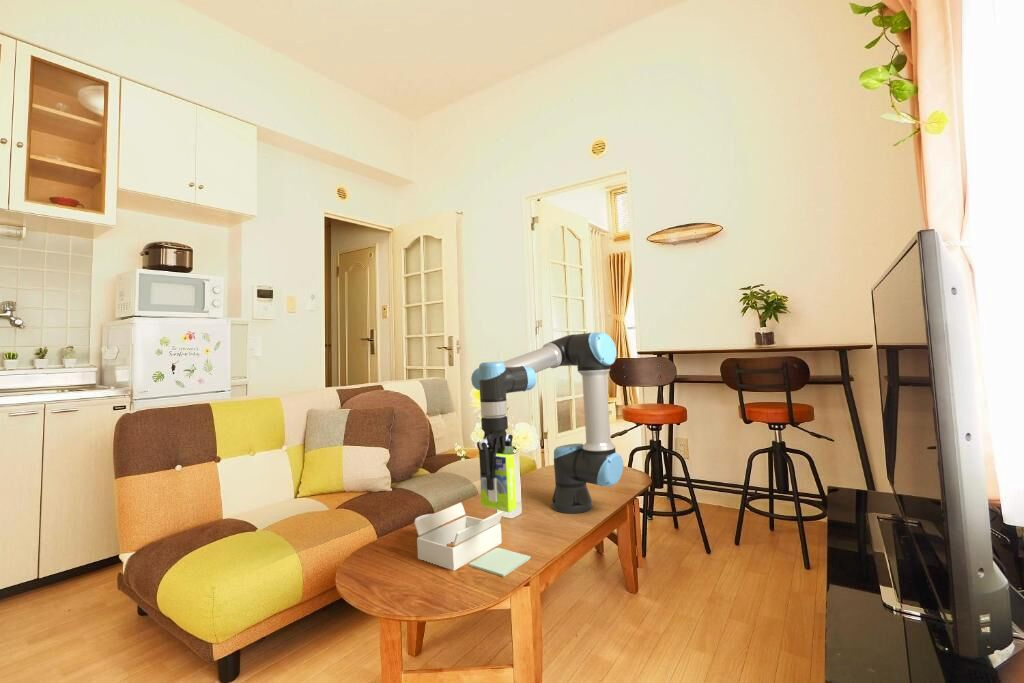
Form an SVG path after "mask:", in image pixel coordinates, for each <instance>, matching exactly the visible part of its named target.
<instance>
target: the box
mask: <svg viewBox="0 0 1024 683" xmlns="http://www.w3.org/2000/svg"><path fill="white" fill-rule="evenodd" d="M495 460H496V462H495V476H494V478H497V495H498V501H497V502H493V501H489V497H488V489H487V479H486V478H485V477H481V471H480V470H479V474H480V477H479V478H480V479H479V480H480V498H481V499H480V501H481V503H480V504H481V507H483V508H484V507H485V508H487V509H493V510H497V511H503V512H504V513H505V512H506V513H510V512H512V511H515V510H516V509H518V507H517V504H518V503H517V490H516V489H517V488H516V473H515V472H516V471H515V470H516V469H515V456H514V446H512V447H508V446H504V451H503V453H502V454H500V453H497V454H496V456H495ZM490 474H491V473H490Z"/></svg>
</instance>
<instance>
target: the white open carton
mask: <svg viewBox="0 0 1024 683" xmlns="http://www.w3.org/2000/svg"><path fill="white" fill-rule="evenodd" d="M482 520H484V519H482V518H479V517H474V516H468V515H463V516H461V518H460V517H459V518H457V519H456V520H455V519H454V520H452V521H450V522H448V523H446V524H445V525H442V527H440V528H438V529H436V530H434V531H431V532H429V533H427V534H425V535H423V536H421V537H419V536H418V537H417V538H416V546H417V548H416V549H417V559H418V560H421V561H423V560H424V562H426V561H427V563H429V562H430V564H432V563H433V565H435V564H436V566H438V565H439V567H441V568H445V569H447V570H450V571H453V572H454V571H456V570H457V569H460V568H462V567H463V566H465V565H466V564H469V563H471V562H472V561H474V560H476V559H478V558H479V557H481V556H483V555H484V554H486V553H488V552H490V551H491V550H493V549H495V548H496V547H497V546H500V545H501V544H502V541H503V540H502V538H503V537H502V524H501V523H500V522H499V523H497V524H496V525H494V526H492V527H490V528H488V529H486V530H484V531H482V532H480V533H478V534H476V535H474V536H472V537H470V538H469V539H467V540H465V541H463V542H461V543H459V544H457V545H455V546H453V547H452V546H448V545H450V544H452V543H454V540H455V537H456V534H457V532H459V531H462V530H464V529H466V528H468V527H470V526H472V525H474V524H476V523H478V522H480V521H482ZM451 542H452V543H451ZM447 544H448V545H447Z"/></svg>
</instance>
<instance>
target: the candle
mask: <svg viewBox="0 0 1024 683" xmlns="http://www.w3.org/2000/svg"><path fill="white" fill-rule="evenodd" d="M432 514H433V513H426V514H423V515H419V516H418V517H415V519H414V522H415V521H418V520H420V519H423V518H425V517H427V516H430V515H432ZM442 526H443V525H440V526H438V527H436V528H434V529H432V530H429V531H427V532H425V533H423V534H421V535H418V534H417V536H418V537H421V536H423V535H425V534H427V533H429V532H431V531H434V530H436V529H438V528H440V527H442Z"/></svg>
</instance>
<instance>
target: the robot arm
mask: <svg viewBox="0 0 1024 683" xmlns="http://www.w3.org/2000/svg"><path fill="white" fill-rule="evenodd" d="M616 358H617V347H616V344H615V342H614V340H613V339H612V338H611V336H610V335H609V334H608V333H605V332H596V331H594V332H589V333H588V332H587V333H578V334H576V333H575V334H569V335H565V336H562V337H560V338H556V339H554V340H552V341H550V342H547V343H545V344H543V346H542V347H541V348H538V349H535V350H532V351H530V352H527V353H524V354H521V355H519V356H515V357H513V358H509V359H508V360H505V361H487V362H481V363H480V364H479V366H478V368H475V370H473V372H472V374H471V385H472V387H474V389H475V390H477V391H479V400H480V415H481V416H482V417H481V419H480V421H481V430H482V431H483V432H484V433H483V439H482V440H481V441H477V443H476V446H477V449H478V455H479V456H478V457H479V458H478V459H479V472H480V471H481V477H485V478H486V479H487V489H488V497H489V501H493V502H497V501H498V495H497V478H494V476H495V462H496V460H495V456H496V454H497V453H500V454H502V453H503V451H504V446H508V447H513V439H514V438H513V437H514V436H513V435H512V434H507V432H506V430H507V429H508V428H509V421H508V420H509V419H508V416H507V415H508V401H507V399H508V398H507V394H510V393H517V392H526V391H531V390H533V388H535V387H536V383H537V373H538V372H541V371H542V372H543V371H544V370H547V369H549V368H550V369H556V368H559V367H569V366H572V367H573V366H574V367H577V372H578V373H579V374H580V375H581V376H582V377H581V378H582V395H583V408H584V409H583V410H584V428H585V443H584V444H583V443H570V444H563V445H559V446H556V447H555V449H554V450H553V467H554V468H553V469H554V482H555V486H554V491H553V494H552V499H551V508H552V510H554V511H556V512H559V513H563V514H580V513H585V512H588V511H590V510H592V509H593V499H592V497H591V494H590V490H589V489H588V485H587V484H592V485H597V486H600V487H609V488H610V487H614V486H615V485H616V484H618V483H619V481H620V479H621V477H622V476H623V471H624V460H623V458H622V456H621V454H619V453H618V452H616V451H617V450H616V446H615V444H614V443H613V442H612V441H611V427H610V412H609V397H608V396H609V395H608V381H607V375H608V373H609V372H610V371H611V365H613V364H614V363H615V361H616ZM490 473H491V474H490Z"/></svg>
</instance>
